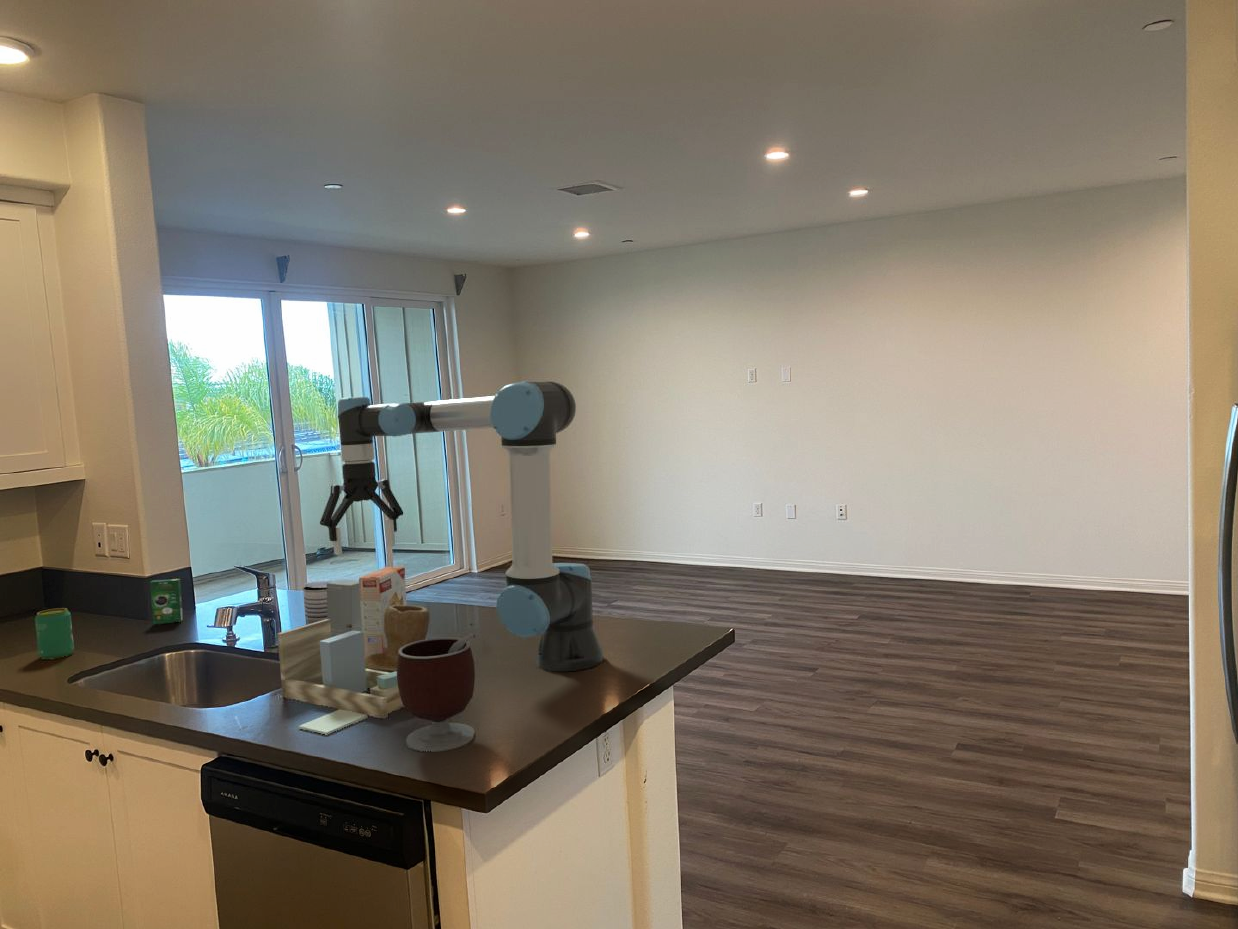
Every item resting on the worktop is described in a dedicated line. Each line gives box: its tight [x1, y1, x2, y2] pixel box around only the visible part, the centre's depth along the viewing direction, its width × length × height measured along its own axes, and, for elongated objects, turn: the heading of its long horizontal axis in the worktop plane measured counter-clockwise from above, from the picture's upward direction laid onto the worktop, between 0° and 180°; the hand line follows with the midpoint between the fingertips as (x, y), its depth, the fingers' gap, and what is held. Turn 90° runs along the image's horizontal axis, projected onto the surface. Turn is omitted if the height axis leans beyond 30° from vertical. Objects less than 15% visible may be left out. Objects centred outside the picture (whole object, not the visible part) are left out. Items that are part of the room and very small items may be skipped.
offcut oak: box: [387, 697, 404, 714], centre depth 184 cm, size 5×9×2 cm, turn 147°
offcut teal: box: [377, 671, 398, 689], centre depth 184 cm, size 3×5×2 cm, turn 133°
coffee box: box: [149, 578, 184, 626], centre depth 269 cm, size 8×3×13 cm, turn 103°
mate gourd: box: [397, 633, 476, 753], centre depth 164 cm, size 16×14×20 cm
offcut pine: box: [369, 686, 400, 703], centre depth 184 cm, size 4×7×2 cm, turn 151°
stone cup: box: [365, 604, 431, 673], centre depth 209 cm, size 15×12×15 cm
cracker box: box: [358, 566, 408, 658], centre depth 221 cm, size 14×6×21 cm, turn 168°
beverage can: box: [34, 607, 75, 659], centre depth 238 cm, size 8×8×12 cm
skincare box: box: [327, 578, 362, 637], centre depth 238 cm, size 8×7×16 cm
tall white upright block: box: [320, 631, 368, 693], centre depth 192 cm, size 3×9×13 cm, turn 148°
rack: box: [276, 619, 389, 719], centre depth 190 cm, size 31×13×14 cm, turn 58°
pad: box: [298, 709, 369, 736], centre depth 176 cm, size 8×10×1 cm
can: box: [302, 580, 333, 625], centre depth 258 cm, size 11×11×12 cm
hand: (365, 550), depth 216 cm, fingers open, 13 cm apart
